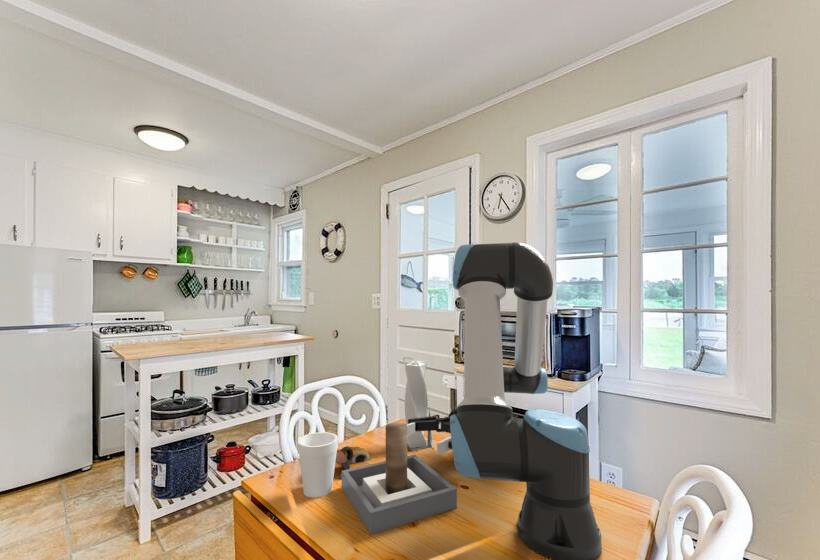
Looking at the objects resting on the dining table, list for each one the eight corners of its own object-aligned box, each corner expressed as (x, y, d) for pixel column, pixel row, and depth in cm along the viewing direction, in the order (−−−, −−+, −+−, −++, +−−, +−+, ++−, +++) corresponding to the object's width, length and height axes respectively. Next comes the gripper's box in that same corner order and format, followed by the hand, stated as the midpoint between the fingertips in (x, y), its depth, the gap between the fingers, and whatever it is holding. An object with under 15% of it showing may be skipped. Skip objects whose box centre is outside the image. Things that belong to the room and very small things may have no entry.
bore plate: (431, 503, 83) (431, 489, 84) (381, 517, 78) (381, 503, 78) (408, 479, 94) (407, 467, 94) (362, 491, 89) (362, 478, 89)
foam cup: (290, 494, 90) (290, 439, 90) (324, 480, 96) (324, 429, 97) (310, 510, 83) (310, 450, 83) (345, 494, 89) (345, 439, 90)
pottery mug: (338, 491, 92) (321, 461, 92) (316, 497, 97) (301, 469, 98) (367, 460, 102) (352, 434, 102) (346, 467, 107) (332, 442, 108)
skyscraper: (407, 452, 113) (407, 359, 114) (400, 442, 120) (400, 355, 122) (434, 449, 115) (433, 357, 116) (425, 439, 123) (424, 354, 124)
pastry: (339, 456, 111) (339, 443, 112) (361, 452, 114) (361, 439, 115) (349, 469, 103) (349, 454, 103) (372, 464, 106) (372, 450, 106)
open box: (456, 512, 82) (456, 488, 82) (370, 539, 73) (370, 513, 73) (414, 473, 99) (414, 454, 100) (341, 491, 91) (341, 470, 91)
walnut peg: (411, 499, 85) (410, 427, 86) (390, 504, 83) (390, 431, 84) (401, 489, 90) (401, 421, 90) (382, 494, 87) (382, 424, 88)
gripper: (505, 444, 99) (458, 472, 83) (432, 423, 116) (382, 443, 100) (505, 415, 99) (458, 438, 84) (432, 398, 116) (382, 414, 101)
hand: (416, 441), depth 92 cm, fingers open, 13 cm apart
